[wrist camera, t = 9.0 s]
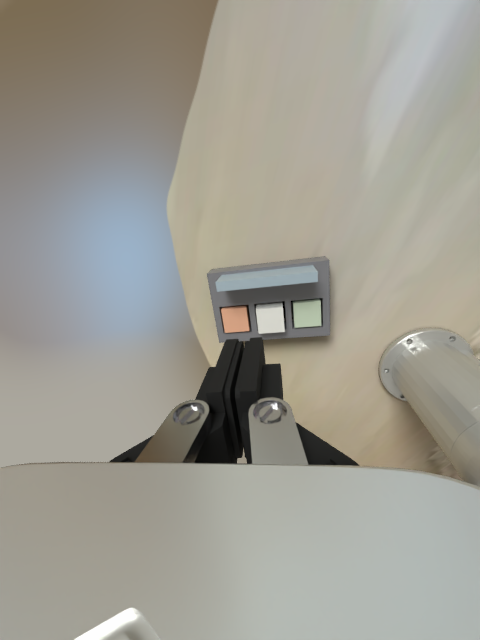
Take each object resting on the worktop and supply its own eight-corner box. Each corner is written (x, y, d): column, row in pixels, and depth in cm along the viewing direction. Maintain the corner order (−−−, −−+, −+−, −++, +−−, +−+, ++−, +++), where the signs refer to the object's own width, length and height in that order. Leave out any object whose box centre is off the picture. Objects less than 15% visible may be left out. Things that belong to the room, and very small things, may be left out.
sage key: (317, 294, 37) (320, 300, 35) (318, 317, 39) (321, 325, 36) (291, 296, 38) (293, 303, 35) (293, 319, 39) (294, 327, 37)
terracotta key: (248, 300, 39) (246, 307, 36) (251, 323, 40) (249, 331, 38) (224, 303, 40) (221, 309, 37) (228, 324, 41) (224, 332, 38)
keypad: (324, 256, 36) (336, 265, 29) (326, 326, 40) (336, 348, 33) (211, 269, 38) (199, 280, 32) (223, 334, 42) (213, 356, 36)
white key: (282, 300, 37) (282, 307, 34) (284, 323, 39) (284, 331, 36) (257, 302, 38) (255, 309, 35) (259, 325, 39) (258, 333, 36)
